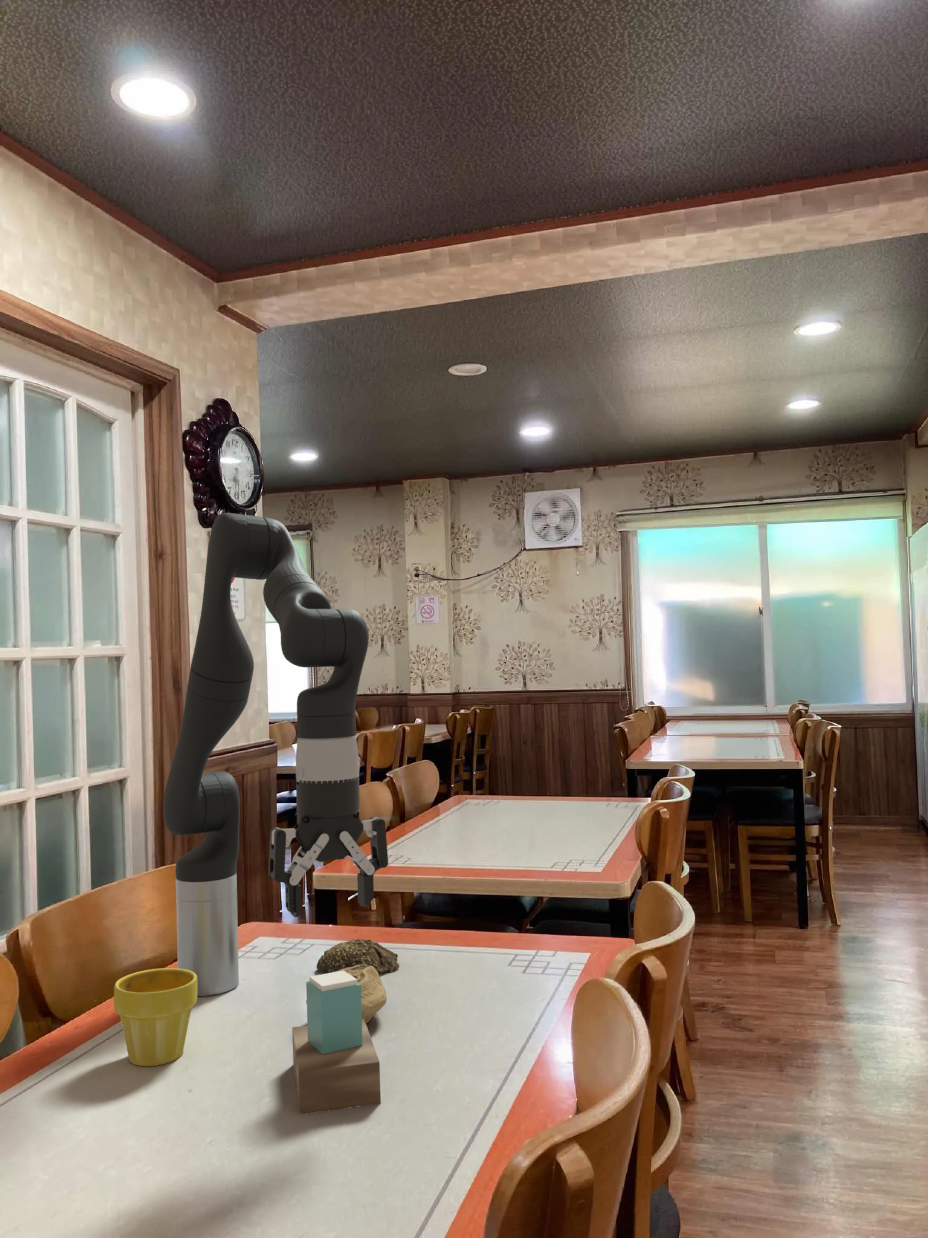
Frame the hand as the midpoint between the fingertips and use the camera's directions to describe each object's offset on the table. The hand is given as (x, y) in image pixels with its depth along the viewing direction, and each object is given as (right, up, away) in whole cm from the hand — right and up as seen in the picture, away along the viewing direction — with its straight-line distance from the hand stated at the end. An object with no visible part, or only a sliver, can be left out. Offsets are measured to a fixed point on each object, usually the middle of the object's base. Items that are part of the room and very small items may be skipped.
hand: (330, 910), depth 117 cm
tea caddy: (+1, -16, -1) cm, 16 cm away
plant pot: (-24, -22, +9) cm, 33 cm away
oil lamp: (0, -22, +20) cm, 29 cm away
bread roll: (-1, -23, +44) cm, 49 cm away
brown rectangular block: (+1, -21, -1) cm, 21 cm away
